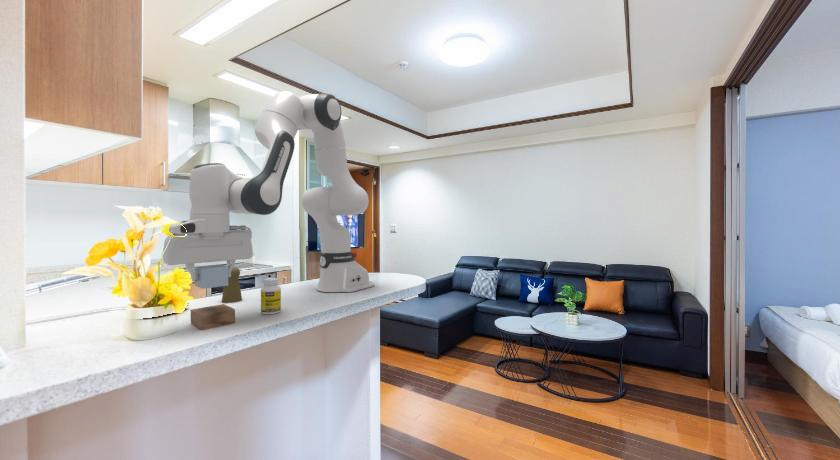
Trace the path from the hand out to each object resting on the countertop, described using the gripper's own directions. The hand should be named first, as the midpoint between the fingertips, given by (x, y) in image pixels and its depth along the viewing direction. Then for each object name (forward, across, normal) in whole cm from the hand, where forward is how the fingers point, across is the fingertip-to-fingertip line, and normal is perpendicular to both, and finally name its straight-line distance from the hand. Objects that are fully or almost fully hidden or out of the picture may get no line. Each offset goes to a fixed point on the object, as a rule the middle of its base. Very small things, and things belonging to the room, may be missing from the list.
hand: (211, 279), depth 93 cm
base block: (+12, 0, 0) cm, 12 cm away
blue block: (+2, 0, 0) cm, 2 cm away
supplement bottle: (+12, -15, +1) cm, 19 cm away
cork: (+12, -13, -23) cm, 29 cm away
